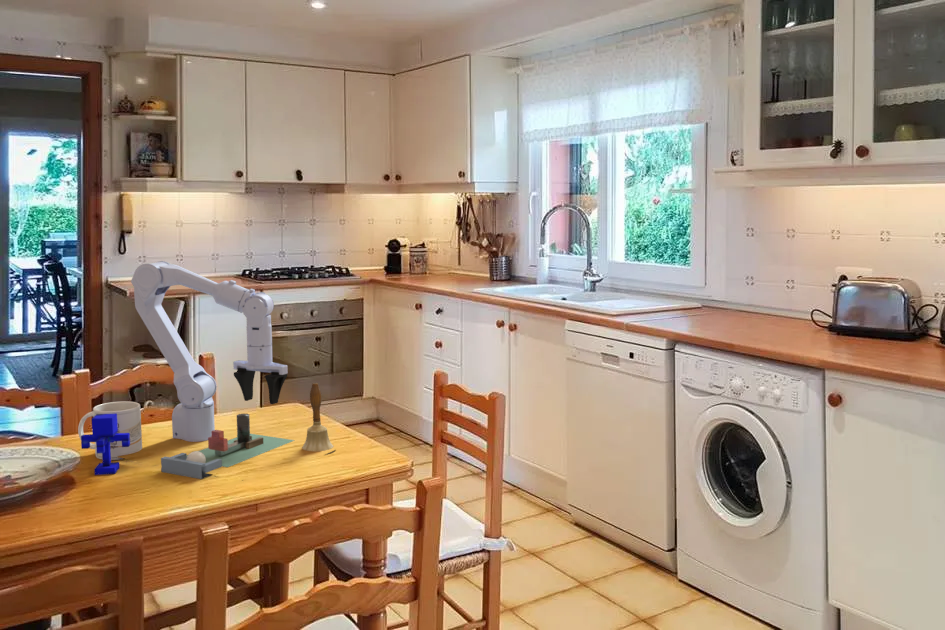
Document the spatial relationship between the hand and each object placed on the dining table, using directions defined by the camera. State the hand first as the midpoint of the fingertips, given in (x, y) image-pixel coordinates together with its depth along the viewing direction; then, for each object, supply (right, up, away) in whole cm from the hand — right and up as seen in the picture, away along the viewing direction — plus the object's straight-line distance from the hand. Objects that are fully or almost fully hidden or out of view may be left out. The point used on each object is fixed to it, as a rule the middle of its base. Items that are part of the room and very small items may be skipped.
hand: (261, 401), depth 199 cm
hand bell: (+14, -11, -5) cm, 19 cm away
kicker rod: (-4, -10, -10) cm, 14 cm away
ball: (-9, -11, -20) cm, 24 cm away
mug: (-31, -11, -8) cm, 34 cm away
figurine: (-27, -13, -21) cm, 37 cm away
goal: (-9, -13, -21) cm, 26 cm away
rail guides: (-2, -10, -5) cm, 11 cm away
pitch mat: (-3, -11, -8) cm, 14 cm away
